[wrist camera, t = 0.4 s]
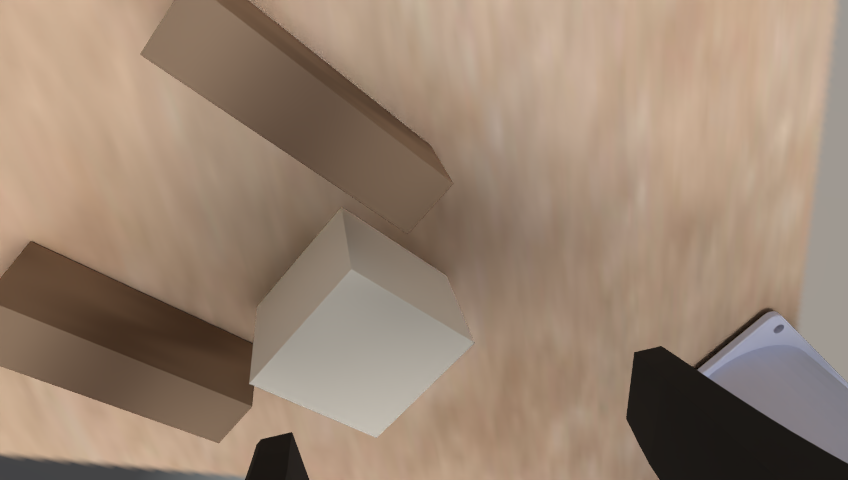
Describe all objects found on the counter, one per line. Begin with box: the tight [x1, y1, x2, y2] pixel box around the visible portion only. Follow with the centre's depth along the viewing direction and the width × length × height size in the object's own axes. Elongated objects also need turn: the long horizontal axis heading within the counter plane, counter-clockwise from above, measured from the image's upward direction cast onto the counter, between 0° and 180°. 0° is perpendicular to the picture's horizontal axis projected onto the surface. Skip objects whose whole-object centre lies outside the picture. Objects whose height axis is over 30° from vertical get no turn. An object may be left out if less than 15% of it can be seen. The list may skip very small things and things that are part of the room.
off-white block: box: [249, 207, 475, 438], centre depth 19 cm, size 5×5×4 cm
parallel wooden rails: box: [0, 0, 453, 443], centre depth 16 cm, size 8×12×3 cm, turn 138°
